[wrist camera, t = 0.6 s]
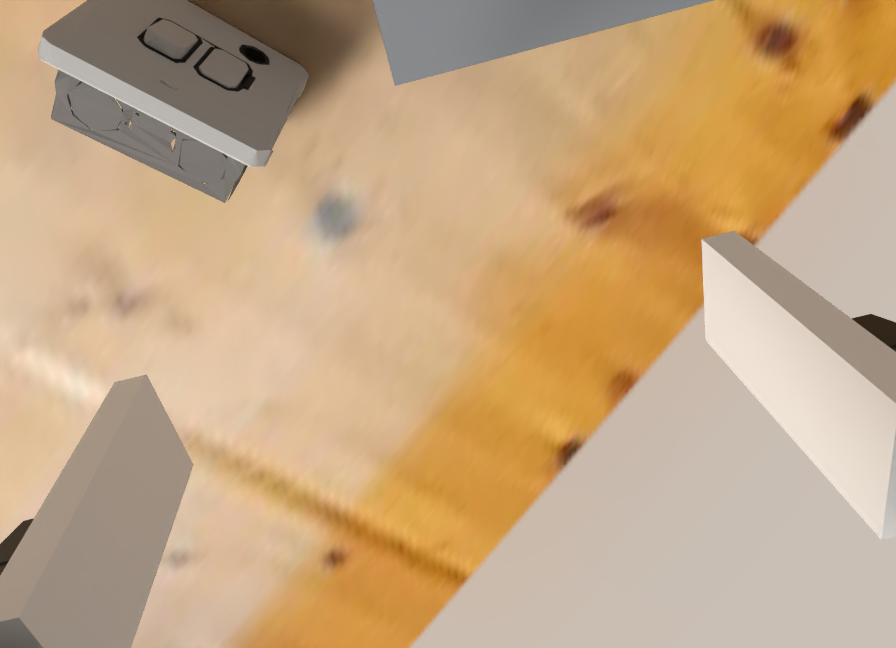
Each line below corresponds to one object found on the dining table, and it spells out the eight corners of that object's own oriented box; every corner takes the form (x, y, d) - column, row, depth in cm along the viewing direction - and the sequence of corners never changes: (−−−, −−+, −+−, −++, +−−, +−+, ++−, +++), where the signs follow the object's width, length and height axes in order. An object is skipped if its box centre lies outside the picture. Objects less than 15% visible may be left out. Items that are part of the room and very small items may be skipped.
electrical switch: (314, 70, 35) (286, 120, 28) (274, 155, 38) (238, 224, 30) (132, -34, 33) (44, -11, 25) (101, 65, 35) (10, 115, 27)
